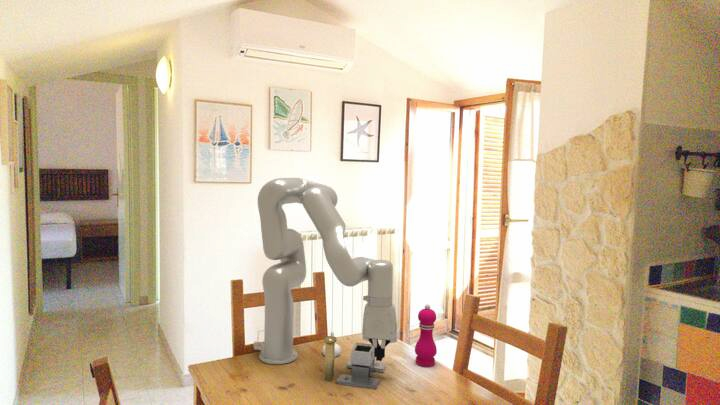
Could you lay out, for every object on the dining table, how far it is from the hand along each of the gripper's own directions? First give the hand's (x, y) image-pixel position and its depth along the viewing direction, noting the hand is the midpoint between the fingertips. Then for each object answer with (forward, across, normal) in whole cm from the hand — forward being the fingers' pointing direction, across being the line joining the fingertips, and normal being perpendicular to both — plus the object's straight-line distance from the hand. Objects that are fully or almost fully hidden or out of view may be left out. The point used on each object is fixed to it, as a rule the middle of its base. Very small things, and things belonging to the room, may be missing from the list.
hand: (379, 359), depth 151 cm
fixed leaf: (+6, -5, -3) cm, 8 cm away
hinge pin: (+5, -14, -6) cm, 16 cm away
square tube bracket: (+5, -5, +3) cm, 8 cm away
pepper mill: (+6, +13, +15) cm, 21 cm away
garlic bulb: (+6, -19, +13) cm, 24 cm away
